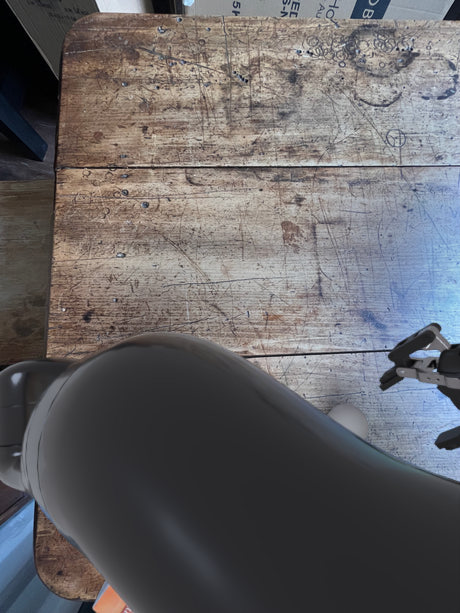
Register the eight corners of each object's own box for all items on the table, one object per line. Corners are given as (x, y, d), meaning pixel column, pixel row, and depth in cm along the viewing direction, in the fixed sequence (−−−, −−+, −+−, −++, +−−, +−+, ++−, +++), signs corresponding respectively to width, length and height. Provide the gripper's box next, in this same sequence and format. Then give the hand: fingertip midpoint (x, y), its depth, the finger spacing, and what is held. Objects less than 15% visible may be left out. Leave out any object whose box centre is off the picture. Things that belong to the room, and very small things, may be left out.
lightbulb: (345, 399, 64) (373, 404, 54) (349, 437, 63) (379, 448, 52) (310, 402, 64) (331, 407, 53) (314, 440, 63) (336, 452, 52)
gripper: (463, 308, 31) (351, 384, 44) (615, 444, 28) (447, 485, 41) (487, 274, 36) (379, 352, 48) (620, 389, 33) (468, 440, 45)
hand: (410, 412), depth 44 cm, fingers open, 8 cm apart
